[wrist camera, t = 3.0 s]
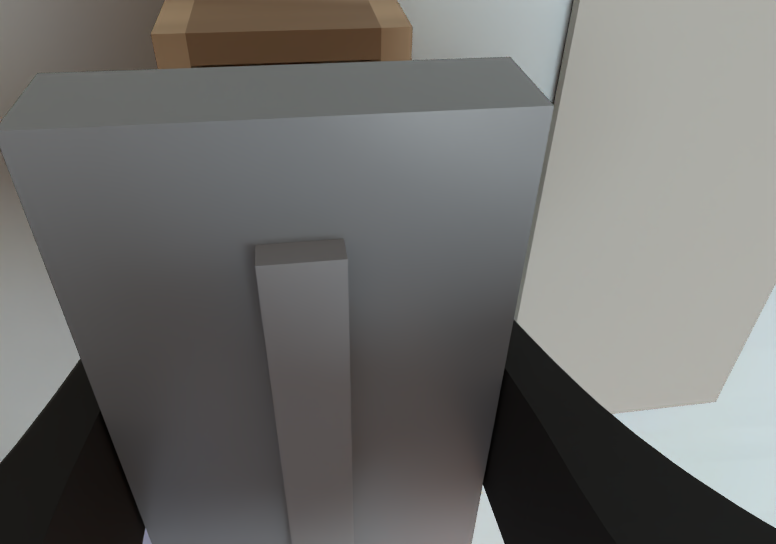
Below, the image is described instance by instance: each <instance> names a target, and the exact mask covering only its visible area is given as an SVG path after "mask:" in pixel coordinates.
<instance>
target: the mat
mask: <svg viewBox="0 0 776 544" xmlns="http://www.w3.org/2000/svg"><path fill="white" fill-rule="evenodd" d="M775 284H776V0H574V1H573V7H572V12H571V17H570V22H569V28H568V33H567V38H566V43H565V48H564V54H563V59H562V64H561V69H560V75H559V80H558V85H557V90H556V96H555V101H554V108H553V114H552V119H551V124H550V130H549V135H548V140H547V146H546V151H545V156H544V161H543V167H542V172H541V177H540V183H539V188H538V193H537V199H536V204H535V209H534V214H533V220H532V225H531V230H530V236H529V241H528V246H527V252H526V257H525V262H524V267H523V273H522V278H521V283H520V289H519V294H518V299H517V305H516V310H515V315H514V320H515V321H516V322H517V323H518V324H519V325H520V326H521V327H522V328H523V329H524V330H525V331H526V333H527V334H528V335H529V336H530V337H531V338H532V339H533V340H534V341H535V342H536V343H537V344H538V345H539V346H540V347H541V348H542V349H543V350H544V351H545V352H546V353H547V354H548V355H549V356H550V357H551V358H552V359H553V360H554V361H555V362H556V363H557V364H558V365H559V366H560V367H561V368H562V369H563V370H564V371H565V372H566V373H567V374H568V375H569V376H570V377H571V378H572V379H573V380H574V381H575V382H576V383H578V384H579V385H580V386H581V387H582V388H583V389H584V390H585V391H586V392H587V393H588V394H589V395H590V396H592V397H593V398H594V399H595V400H596V401H597V402H598V403H599V404H601V405H602V406H603V407H604V408H605V409H606V410H607V411H609V412H610V413H611V414H615V413H624V412H632V411H641V410H650V409H658V408H667V407H676V406H684V405H693V404H701V403H710V402H716V400H717V398H718V396H719V394H720V392H721V390H722V388H723V386H724V384H725V382H726V380H727V378H728V376H729V374H730V373H731V371H732V369H733V367H734V365H735V363H736V361H737V359H738V357H739V355H740V353H741V351H742V349H743V347H744V345H745V343H746V341H747V339H748V337H749V335H750V333H751V331H752V329H753V327H754V325H755V323H756V321H757V319H758V317H759V315H760V313H761V311H762V309H763V308H764V306H765V304H766V302H767V300H768V298H769V296H770V294H771V292H772V290H773V288H774V286H775Z"/></svg>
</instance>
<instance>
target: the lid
mask: <svg viewBox="0 0 776 544" xmlns="http://www.w3.org/2000/svg"><path fill="white" fill-rule="evenodd" d="M553 108H554V105H553V104H552V103H551V102H550V101H549V99H548V98H547V97H546V96H545V95H544V94H543V93H542V92H541V91H540V89H539V88H538V87H537V86H536V85H535V84H534V83H533V82H532V81H531V79H530V78H529V77H528V76H527V75H526V74H525V73H524V72H523V71H522V69H521V68H520V67H519V66H518V65H517V64H516V63H515V62H514V61H513V59H512V58H511V57H493V58H464V59H436V60H407V61H378V62H350V63H321V64H292V65H264V66H235V67H206V68H178V69H149V70H120V71H92V72H63V73H37V74H36V76H35V77H34V78H33V80H32V81H31V82H30V84H29V85H28V86H27V88H26V89H25V90H24V92H23V93H22V94H21V96H20V97H19V98H18V100H17V101H16V102H15V104H14V105H13V106H12V108H11V109H10V110H9V112H8V113H7V114H6V116H5V117H4V118H3V120H2V121H1V122H0V150H1V152H2V155H3V157H4V160H5V163H6V165H7V168H8V170H9V173H10V176H11V178H12V181H13V184H14V186H15V189H16V191H17V194H18V197H19V199H20V202H21V204H22V207H23V210H24V212H25V215H26V217H27V220H28V223H29V225H30V228H31V230H32V233H33V236H34V238H35V241H36V243H37V246H38V249H39V251H40V254H41V256H42V259H43V262H44V264H45V267H46V270H47V272H48V275H49V277H50V280H51V283H52V285H53V288H54V290H55V293H56V296H57V298H58V301H59V303H60V306H61V309H62V311H63V314H64V316H65V319H66V322H67V324H68V327H69V329H70V332H71V335H72V337H73V340H74V342H75V345H76V348H77V350H78V353H79V356H80V358H81V361H82V363H83V366H84V369H85V371H86V374H87V376H88V379H89V382H90V384H91V387H92V389H93V392H94V395H95V397H96V400H97V402H98V405H99V408H100V410H101V413H102V415H103V418H104V421H105V423H106V426H107V428H108V431H109V434H110V436H111V439H112V442H113V444H114V447H115V449H116V452H117V455H118V457H119V460H120V462H121V465H122V468H123V470H124V473H125V475H126V478H127V481H128V483H129V486H130V488H131V491H132V494H133V496H134V499H135V501H136V504H137V507H138V509H139V512H140V514H141V517H142V520H143V522H144V525H145V528H146V530H147V533H148V535H149V538H150V541H151V543H152V544H471V543H472V538H473V533H474V527H475V522H476V517H477V511H478V506H479V501H480V496H481V490H482V485H483V480H484V474H485V469H486V464H487V458H488V453H489V448H490V443H491V437H492V432H493V427H494V421H495V416H496V411H497V405H498V400H499V395H500V389H501V384H502V379H503V374H504V368H505V363H506V358H507V352H508V347H509V342H510V336H511V331H512V326H513V321H514V315H515V310H516V305H517V299H518V294H519V289H520V283H521V278H522V273H523V267H524V262H525V257H526V252H527V246H528V241H529V236H530V230H531V225H532V220H533V214H534V209H535V204H536V199H537V193H538V188H539V183H540V177H541V172H542V167H543V161H544V156H545V151H546V146H547V140H548V135H549V130H550V124H551V119H552V114H553Z"/></svg>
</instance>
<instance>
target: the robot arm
mask: <svg viewBox="0 0 776 544" xmlns="http://www.w3.org/2000/svg"><path fill="white" fill-rule="evenodd" d="M483 486H484V488H485V491H486V494H487V497H488V499H489V502H490V505H491V508H492V510H493V513H494V516H495V518H496V521H497V524H498V527H499V529H500V532H501V535H502V538H503V540H504V543H505V544H776V528H774V527H773V526H771V525H769V524H767V523H766V522H764V521H762V520H761V519H759V518H757V517H756V516H754V515H752V514H751V513H749V512H747V511H746V510H744V509H742V508H741V507H739V506H738V505H736V504H734V503H733V502H731V501H730V500H728V499H727V498H725V497H724V496H722V495H721V494H719V493H718V492H716V491H715V490H713V489H711V488H710V487H708V486H707V485H705V484H704V483H702V482H701V481H699V480H698V479H696V478H695V477H693V476H692V475H690V474H689V473H687V472H686V471H685V470H683V469H682V468H680V467H679V466H677V465H676V464H675V463H673V462H672V461H670V460H669V459H668V458H666V457H665V456H664V455H662V454H661V453H660V452H658V451H657V450H656V449H654V448H653V447H652V446H651V445H649V444H648V443H647V442H645V441H644V440H643V439H641V438H640V437H639V436H637V435H636V434H635V433H634V432H632V431H631V430H630V429H629V428H627V427H626V426H625V425H624V424H623V423H621V422H620V421H619V420H618V419H617V418H615V417H614V416H613V415H612V414H611V413H610V412H609V411H607V410H606V409H605V408H604V407H603V406H602V405H601V404H599V403H598V402H597V401H596V400H595V399H594V398H593V397H592V396H590V395H589V394H588V393H587V392H586V391H585V390H584V389H583V388H582V387H581V386H580V385H579V384H578V383H576V382H575V381H574V380H573V379H572V378H571V377H570V376H569V375H568V374H567V373H566V372H565V371H564V370H563V369H562V368H561V367H560V366H559V365H558V364H557V363H556V362H555V361H554V360H553V359H552V358H551V357H550V356H549V355H548V354H547V353H546V352H545V351H544V350H543V349H542V348H541V347H540V346H539V345H538V344H537V343H536V342H535V341H534V340H533V339H532V338H531V337H530V336H529V335H528V334H527V333H526V331H525V330H524V329H523V328H522V327H521V326H520V325H519V324H518V323H517V322H516V321H515V320H514V321H513V326H512V331H511V336H510V342H509V347H508V352H507V358H506V363H505V368H504V374H503V379H502V384H501V389H500V395H499V400H498V405H497V411H496V416H495V421H494V427H493V432H492V437H491V443H490V448H489V453H488V458H487V464H486V469H485V474H484V480H483ZM0 544H152V543H151V541H150V538H149V535H148V533H147V530H146V528H145V525H144V522H143V520H142V517H141V514H140V512H139V509H138V507H137V504H136V501H135V499H134V496H133V494H132V491H131V488H130V486H129V483H128V481H127V478H126V475H125V473H124V470H123V468H122V465H121V462H120V460H119V457H118V455H117V452H116V449H115V447H114V444H113V442H112V439H111V436H110V434H109V431H108V428H107V426H106V423H105V421H104V418H103V415H102V413H101V410H100V408H99V405H98V402H97V400H96V397H95V395H94V392H93V389H92V387H91V384H90V382H89V379H88V376H87V374H86V371H85V369H84V366H83V363H82V361H81V359H80V360H79V361H78V363H77V364H76V366H75V367H74V368H73V370H72V371H71V373H70V374H69V375H68V377H67V378H66V379H65V381H64V382H63V384H62V385H61V386H60V388H59V389H58V390H57V392H56V393H55V394H54V396H53V397H52V399H51V400H50V401H49V403H48V404H47V405H46V406H45V408H44V409H43V410H42V412H41V413H40V414H39V416H38V417H37V418H36V419H35V421H34V422H33V423H32V425H31V426H30V427H29V428H28V430H27V431H26V432H25V434H24V435H23V436H22V438H21V439H20V440H19V441H18V443H17V444H16V445H15V446H14V447H13V449H12V450H11V451H10V452H9V453H8V455H7V456H6V457H5V458H4V459H3V460H2V462H1V463H0Z"/></svg>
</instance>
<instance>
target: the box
mask: <svg viewBox="0 0 776 544" xmlns="http://www.w3.org/2000/svg"><path fill="white" fill-rule="evenodd" d="M412 30H413V27H412V25H411V24H410V22H409V20H408V18H407V17H406V15H405V13H404V12H403V10H402V8H401V7H400V5H399V3H398V2H397V0H165V1H164V3H163V6H162V8H161V11H160V13H159V15H158V18H157V20H156V23H155V25H154V27H153V30H152V32H151V38H152V43H153V48H154V53H155V58H156V63H157V68H158V69H178V68H206V67H235V66H264V65H292V64H321V63H350V62H378V61H407V60H411V52H412Z"/></svg>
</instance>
